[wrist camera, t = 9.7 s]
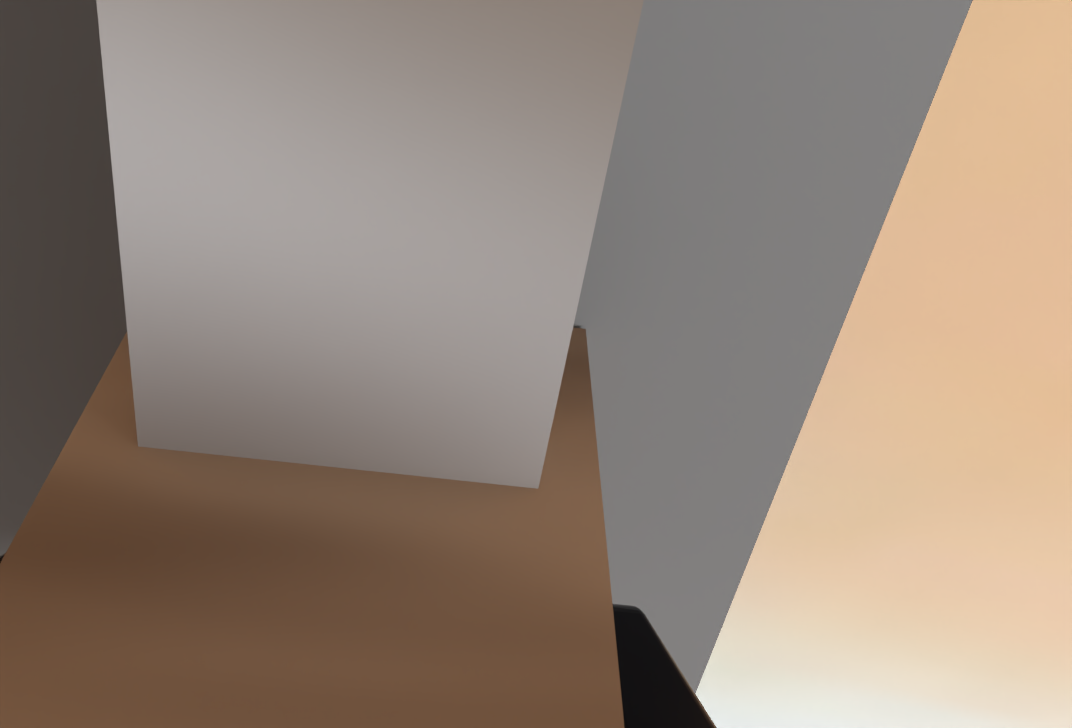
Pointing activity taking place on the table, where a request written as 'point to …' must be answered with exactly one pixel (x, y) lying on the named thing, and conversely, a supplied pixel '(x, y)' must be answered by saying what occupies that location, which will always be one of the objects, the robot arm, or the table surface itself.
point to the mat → (611, 272)
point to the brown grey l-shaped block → (336, 379)
